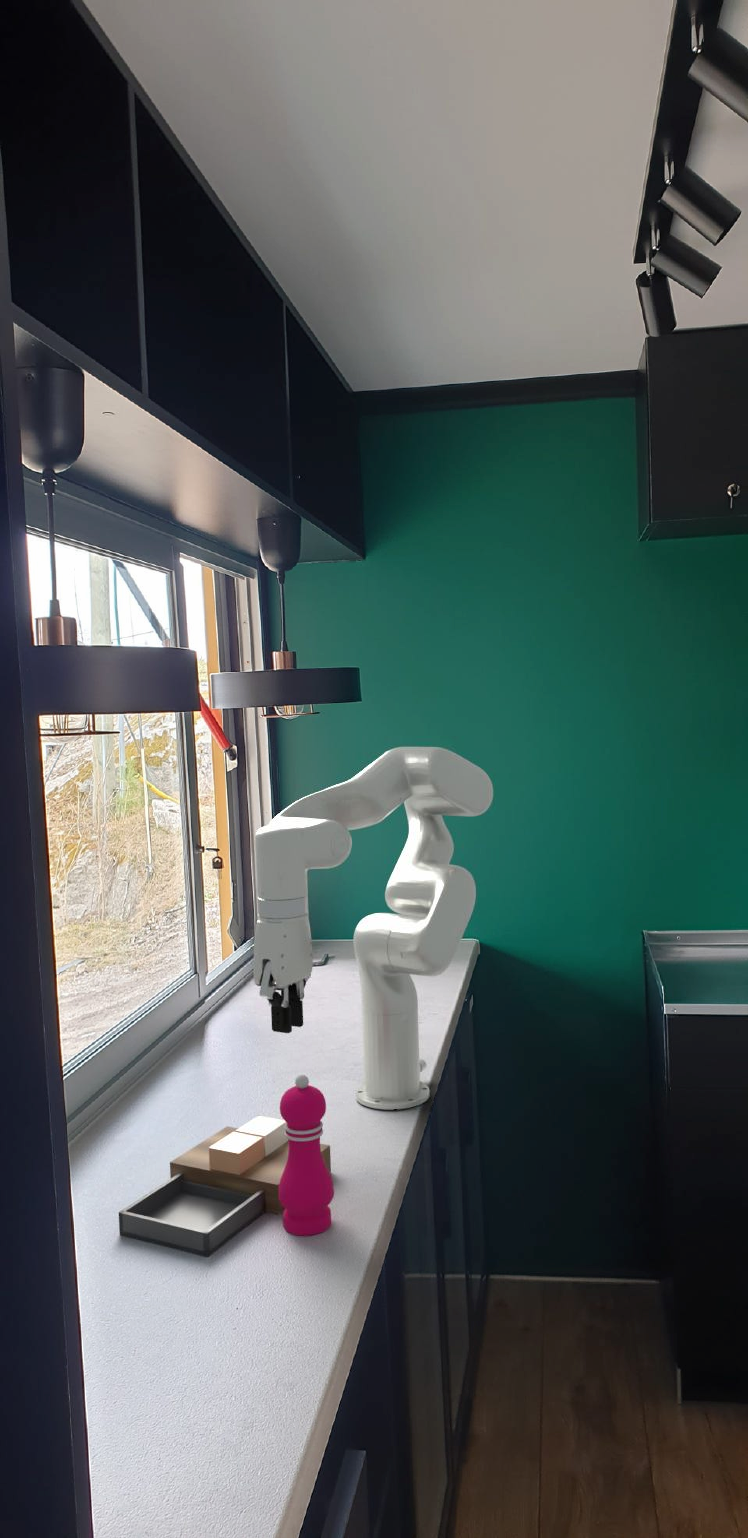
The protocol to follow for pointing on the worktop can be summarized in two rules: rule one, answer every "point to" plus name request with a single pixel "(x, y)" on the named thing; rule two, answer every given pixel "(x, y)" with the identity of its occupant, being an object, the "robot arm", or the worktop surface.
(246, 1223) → the bin
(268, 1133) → the tile cream
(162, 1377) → the worktop surface
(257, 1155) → the tan rectangular block
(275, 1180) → the walnut block
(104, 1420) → the worktop surface
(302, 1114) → the pepper mill
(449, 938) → the robot arm
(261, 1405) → the worktop surface
